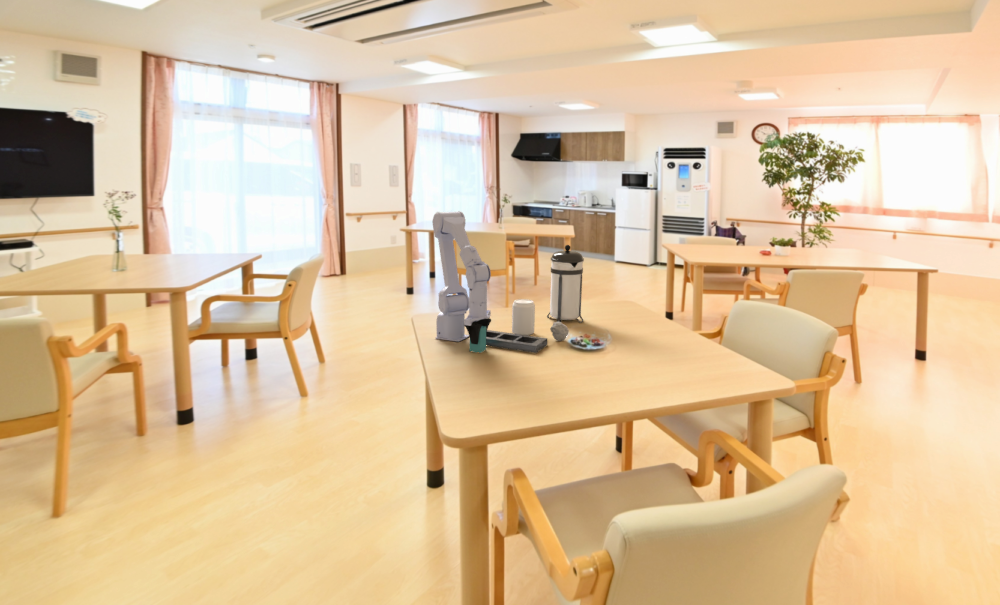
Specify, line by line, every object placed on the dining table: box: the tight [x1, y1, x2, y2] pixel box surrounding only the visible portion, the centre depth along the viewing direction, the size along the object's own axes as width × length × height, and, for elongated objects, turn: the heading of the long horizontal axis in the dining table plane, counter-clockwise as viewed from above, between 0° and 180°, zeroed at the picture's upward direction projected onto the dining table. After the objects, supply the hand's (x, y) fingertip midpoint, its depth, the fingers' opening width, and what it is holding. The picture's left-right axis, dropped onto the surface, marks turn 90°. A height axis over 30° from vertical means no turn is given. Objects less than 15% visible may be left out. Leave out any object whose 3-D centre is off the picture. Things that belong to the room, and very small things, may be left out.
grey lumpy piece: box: [550, 321, 570, 342], centre depth 209 cm, size 6×7×7 cm
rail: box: [486, 329, 548, 354], centre depth 204 cm, size 24×10×2 cm, turn 65°
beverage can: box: [511, 298, 536, 336], centre depth 217 cm, size 8×8×12 cm
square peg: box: [469, 326, 487, 354], centre depth 197 cm, size 4×4×8 cm
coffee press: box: [546, 244, 585, 324], centre depth 236 cm, size 17×16×30 cm
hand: (477, 341), depth 197 cm, fingers open, 4 cm apart
